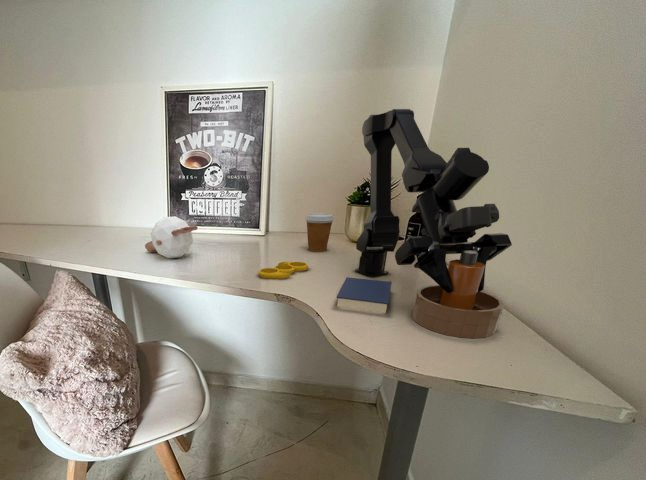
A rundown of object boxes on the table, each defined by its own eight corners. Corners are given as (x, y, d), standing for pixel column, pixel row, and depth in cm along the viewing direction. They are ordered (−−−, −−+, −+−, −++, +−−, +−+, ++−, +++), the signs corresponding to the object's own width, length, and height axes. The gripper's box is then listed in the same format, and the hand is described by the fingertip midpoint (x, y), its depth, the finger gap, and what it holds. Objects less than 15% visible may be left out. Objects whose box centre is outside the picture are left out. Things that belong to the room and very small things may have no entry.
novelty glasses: (249, 273, 94) (272, 282, 86) (249, 268, 93) (272, 276, 86) (293, 264, 102) (317, 271, 95) (293, 259, 102) (317, 266, 94)
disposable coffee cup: (325, 254, 113) (328, 217, 108) (299, 251, 117) (301, 215, 113) (334, 248, 120) (337, 214, 115) (309, 245, 125) (311, 212, 120)
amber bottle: (447, 313, 65) (464, 247, 59) (474, 323, 60) (495, 253, 55) (429, 318, 63) (445, 250, 57) (455, 329, 58) (475, 257, 53)
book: (345, 288, 81) (346, 277, 80) (389, 293, 77) (391, 281, 76) (335, 309, 69) (336, 296, 68) (386, 316, 66) (389, 303, 65)
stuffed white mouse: (173, 258, 126) (158, 222, 122) (215, 244, 108) (199, 202, 104) (142, 271, 117) (125, 232, 113) (182, 258, 99) (164, 212, 95)
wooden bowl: (442, 306, 70) (448, 281, 68) (510, 331, 59) (520, 302, 57) (396, 318, 65) (401, 291, 63) (462, 348, 54) (471, 317, 52)
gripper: (415, 187, 55) (443, 271, 50) (520, 185, 57) (558, 266, 51) (385, 228, 65) (405, 301, 60) (474, 225, 67) (502, 296, 61)
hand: (465, 291), depth 58 cm, fingers closed on amber bottle, 5 cm apart
